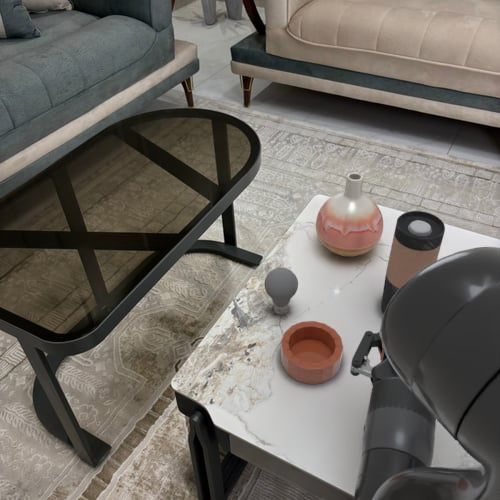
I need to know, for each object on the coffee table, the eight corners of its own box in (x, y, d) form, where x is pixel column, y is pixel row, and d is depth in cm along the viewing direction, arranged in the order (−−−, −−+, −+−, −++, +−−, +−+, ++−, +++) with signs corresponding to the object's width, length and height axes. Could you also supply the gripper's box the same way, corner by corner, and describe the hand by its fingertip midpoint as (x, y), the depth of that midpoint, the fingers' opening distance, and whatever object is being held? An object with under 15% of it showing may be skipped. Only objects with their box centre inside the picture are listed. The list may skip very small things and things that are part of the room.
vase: (302, 253, 106) (306, 182, 94) (332, 220, 114) (339, 151, 103) (362, 277, 100) (373, 204, 88) (389, 240, 108) (403, 170, 96)
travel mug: (430, 313, 92) (456, 227, 79) (401, 332, 89) (423, 245, 76) (399, 289, 97) (418, 204, 84) (370, 306, 93) (386, 221, 80)
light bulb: (276, 295, 97) (276, 256, 90) (303, 307, 94) (305, 268, 87) (258, 314, 93) (257, 275, 86) (286, 328, 90) (286, 288, 84)
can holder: (345, 344, 87) (348, 328, 84) (333, 391, 80) (335, 376, 77) (290, 330, 90) (290, 315, 87) (273, 374, 83) (273, 359, 80)
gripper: (475, 430, 52) (476, 315, 64) (338, 393, 56) (364, 291, 68) (459, 465, 57) (462, 352, 69) (334, 429, 61) (358, 328, 73)
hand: (413, 322), depth 68 cm, fingers closed on beverage can, 5 cm apart
